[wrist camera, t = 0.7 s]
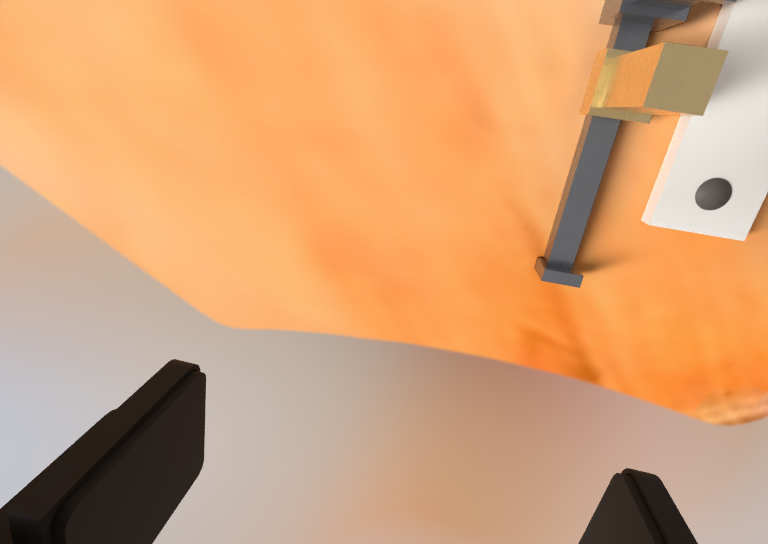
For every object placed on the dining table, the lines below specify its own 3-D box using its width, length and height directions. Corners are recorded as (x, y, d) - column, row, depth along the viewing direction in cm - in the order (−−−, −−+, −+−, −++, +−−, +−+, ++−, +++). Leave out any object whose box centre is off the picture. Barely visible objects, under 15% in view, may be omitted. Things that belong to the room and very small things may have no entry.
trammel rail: (618, -45, 29) (710, -128, 19) (727, -32, 28) (883, -109, 18) (528, 266, 37) (558, 325, 27) (611, 281, 36) (673, 347, 26)
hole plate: (742, -49, 28) (759, -58, 26) (858, -35, 27) (881, -43, 26) (640, 220, 34) (649, 225, 33) (732, 235, 34) (744, 241, 32)
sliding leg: (597, 51, 29) (658, 29, 21) (704, 66, 29) (810, 49, 20) (579, 113, 31) (629, 115, 22) (680, 129, 30) (770, 137, 22)
